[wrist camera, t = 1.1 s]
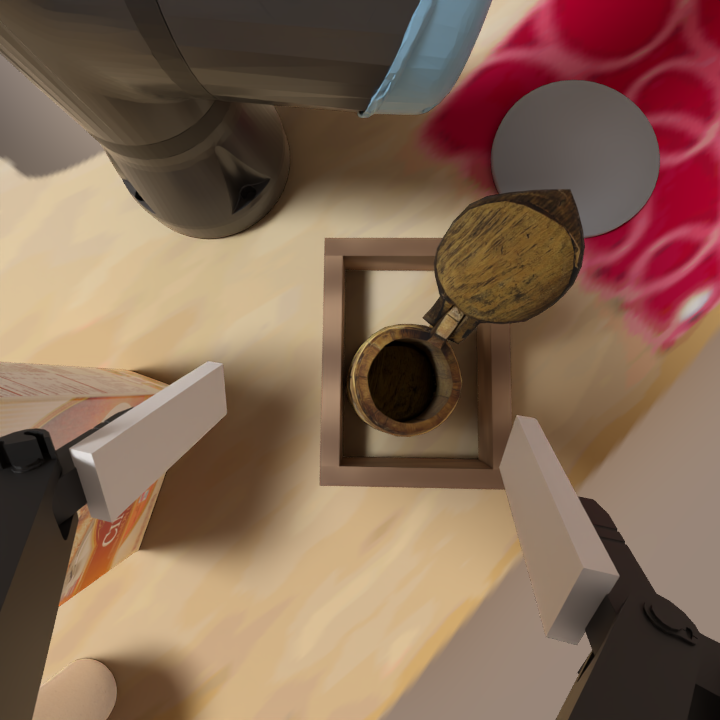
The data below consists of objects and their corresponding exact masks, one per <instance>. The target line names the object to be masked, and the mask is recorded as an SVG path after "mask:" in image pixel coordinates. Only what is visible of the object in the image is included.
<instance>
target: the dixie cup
mask: <svg viewBox="0 0 720 720" xmlns="http://www.w3.org/2000/svg"><path fill="white" fill-rule="evenodd" d="M116 697H117V687H116V682H115V679H114V677H113V675H112V673H111V671H110V670H109V669H108V668H107V667H106V666H105V665H104V664H102V663H101V662H99V661H96V660H93V659H79V660H75V661H73V662H71V663H69V664H68V665H67V666H65V667H64V668H63V669H61V670H60V671H59V672H57V673H56V674H55V675H53V676H52V677H51V678H50V679H48V680H47V681H46V682H44V683H43V684H42V685H40V688H39V692H38V697H37V701H36V705H35V709H34V714H33V718H32V720H106V719H107V718H108V716H109V715H110V713H111V712H112V710H113V708H114V705H115V702H116Z"/></svg>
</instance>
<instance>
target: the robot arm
mask: <svg viewBox="0 0 720 720" xmlns="http://www.w3.org/2000/svg"><path fill="white" fill-rule="evenodd" d="M491 2H492V0H0V55H2V56H3V57H4V58H5V59H6V60H7V61H8V62H9V63H10V64H12V65H13V66H14V67H15V68H16V69H17V70H18V71H19V72H21V73H22V74H23V75H24V76H25V77H26V78H27V79H28V80H30V81H31V82H32V83H33V84H34V85H35V86H36V87H37V88H38V89H40V90H41V91H42V92H43V93H44V94H45V95H46V96H47V97H49V98H50V99H51V100H52V101H53V102H54V103H55V104H56V105H58V106H59V107H60V108H61V109H62V110H63V111H64V112H66V113H67V114H68V115H69V116H70V117H71V118H72V119H73V120H74V121H76V122H77V123H78V124H79V125H80V126H81V127H83V128H84V129H85V130H86V131H87V132H88V133H89V134H90V135H91V136H93V137H94V138H95V139H96V140H97V141H98V142H99V143H100V144H101V146H102V147H103V149H104V151H105V152H106V154H107V156H108V157H109V159H110V161H111V162H112V164H113V166H114V167H115V169H116V171H117V172H118V174H119V175H120V177H121V178H122V180H123V182H124V184H125V185H126V187H127V189H128V190H129V192H130V193H131V195H132V196H133V198H134V199H135V200H136V201H137V202H138V203H139V204H140V206H141V207H142V208H143V209H145V210H146V211H147V212H148V213H149V214H151V215H152V216H153V217H154V218H156V219H157V220H158V221H160V222H161V223H162V224H164V225H165V226H167V227H168V228H170V229H172V230H174V231H176V232H178V233H181V234H183V235H187V236H191V237H196V238H220V237H225V236H229V235H233V234H236V233H238V232H241V231H243V230H245V229H247V228H249V227H250V226H252V225H254V224H255V223H257V222H258V221H259V220H260V219H262V218H263V217H264V216H265V215H266V214H267V213H268V212H269V211H270V210H271V209H272V207H273V206H274V205H275V203H276V202H277V200H278V199H279V197H280V195H281V194H282V191H283V189H284V187H285V184H286V181H287V178H288V173H289V167H290V152H289V145H288V141H287V137H286V134H285V131H284V128H283V126H282V123H281V120H280V117H279V115H278V113H277V111H276V109H275V107H274V105H277V106H289V107H301V108H313V109H325V110H336V111H348V112H357V115H358V117H361V118H368V117H370V116H372V115H373V114H398V115H418V114H422V113H426V112H428V111H430V110H431V109H432V108H434V107H435V106H436V105H438V104H439V103H440V102H441V101H442V100H443V99H444V98H445V96H446V95H447V94H448V93H449V92H450V91H451V89H452V88H453V86H454V85H455V83H456V81H457V80H458V78H459V76H460V74H461V72H462V70H463V68H464V66H465V64H466V62H467V60H468V58H469V56H470V54H471V51H472V49H473V47H474V45H475V42H476V40H477V38H478V35H479V33H480V31H481V28H482V25H483V23H484V20H485V18H486V15H487V13H488V10H489V7H490V5H491ZM226 414H227V405H226V393H225V381H224V369H223V364H222V363H217V362H211V361H207V362H206V363H204V364H203V365H201V366H199V367H198V368H196V369H195V370H193V371H191V372H190V373H188V374H187V375H185V376H183V377H182V378H180V379H179V380H177V381H175V382H174V383H172V384H171V385H169V386H168V387H166V388H164V389H163V390H161V391H160V392H158V393H156V394H155V395H153V396H152V397H150V398H148V399H147V400H145V401H144V402H142V403H140V404H139V405H137V406H136V407H131V408H129V409H126V410H123V411H121V412H118V413H116V414H114V415H113V416H111V417H109V418H108V419H106V420H105V421H104V422H101V423H100V424H98V425H96V426H95V427H94V428H93V429H90V430H88V431H87V432H85V433H83V434H82V435H80V436H78V437H77V438H75V439H73V440H72V441H70V442H69V443H67V444H65V445H64V446H62V447H60V448H59V449H57V450H55V448H54V445H53V442H52V439H51V436H50V433H49V432H48V431H47V430H45V429H38V428H35V429H25V430H21V431H16V432H13V433H10V434H8V435H5V436H2V437H1V438H0V720H32V718H33V714H34V709H35V705H36V701H37V697H38V692H39V688H40V684H41V679H42V675H43V671H44V667H45V662H46V658H47V654H48V650H49V645H50V641H51V637H52V632H53V628H54V624H55V620H56V615H57V611H58V607H59V603H60V598H61V594H62V590H63V585H64V581H65V577H66V573H67V568H68V564H69V560H70V555H71V551H72V547H73V543H74V538H75V534H76V530H77V526H78V521H79V519H78V514H77V511H78V510H79V509H81V508H82V507H83V506H84V505H86V504H87V506H88V509H89V512H90V515H91V517H92V518H96V519H100V520H103V521H107V522H111V523H112V522H113V521H114V520H115V519H116V518H117V517H118V516H119V515H120V514H122V513H123V512H124V511H125V510H126V509H127V508H128V507H129V506H130V505H131V504H132V503H133V502H134V501H135V500H136V499H137V498H138V497H139V496H141V495H142V494H143V493H144V492H145V491H146V490H147V489H148V488H149V487H150V486H151V485H152V484H153V483H154V482H155V481H156V480H157V479H159V478H160V477H161V476H162V475H163V474H164V473H165V472H166V471H167V470H168V469H169V468H170V467H171V466H172V465H173V464H174V463H175V462H177V461H178V460H179V459H180V458H181V457H182V456H183V455H184V454H185V453H186V452H187V451H188V450H189V449H190V448H191V447H192V446H193V445H195V444H196V443H197V442H198V441H199V440H200V439H201V438H202V437H203V436H204V435H205V434H206V433H207V432H208V431H209V430H210V429H211V428H213V427H214V426H215V425H216V424H217V423H218V422H219V421H220V420H221V419H222V418H223V417H224V416H225V415H226ZM499 468H500V472H501V476H502V479H503V483H504V487H505V490H506V494H507V497H508V501H509V505H510V508H511V512H512V516H513V519H514V523H515V527H516V530H517V534H518V538H519V541H520V545H521V548H522V552H523V556H524V559H525V563H526V567H527V570H528V574H529V578H530V581H531V585H532V588H533V592H534V595H535V599H536V603H537V607H538V610H539V614H540V618H541V621H542V625H543V628H544V632H545V635H546V637H548V638H552V639H556V640H559V641H563V642H567V643H571V644H574V645H577V644H578V643H579V641H580V640H581V638H582V636H583V635H584V633H585V631H586V634H587V637H588V639H589V642H590V645H591V647H592V652H591V653H590V654H589V656H588V657H587V659H586V660H585V662H584V663H583V665H582V666H581V668H580V670H579V671H578V674H579V675H578V677H577V679H576V681H575V683H574V685H573V687H572V689H571V691H570V693H569V695H568V697H567V699H566V701H565V703H564V705H563V706H562V708H561V710H560V712H559V715H558V716H557V718H556V720H720V643H718V642H716V641H714V640H712V639H710V638H708V637H706V636H704V635H702V634H701V633H699V631H698V629H697V628H696V626H695V624H693V622H692V621H691V620H690V619H689V618H688V617H687V616H686V614H685V613H684V612H683V611H682V610H680V609H679V608H678V607H676V606H675V605H674V604H673V603H671V602H670V601H669V600H667V599H665V598H663V597H661V596H660V595H658V594H656V592H655V591H654V589H653V587H652V586H651V584H650V582H649V581H648V579H647V577H646V576H645V574H644V572H643V571H642V569H641V568H640V566H639V564H638V562H637V561H636V559H635V557H634V556H633V554H632V552H631V551H630V549H629V547H628V546H627V545H625V541H624V539H623V537H622V536H621V534H620V533H619V532H617V528H616V526H615V524H614V523H613V521H612V519H611V518H610V516H609V514H608V513H607V512H606V511H605V510H604V509H603V508H602V507H601V506H600V505H599V504H597V502H596V501H594V500H593V499H588V498H583V497H578V496H577V494H576V493H575V491H574V489H573V487H572V485H571V483H570V481H569V479H568V477H567V476H566V474H565V472H564V470H563V468H562V466H561V464H560V462H559V460H558V459H557V457H556V455H555V453H554V451H553V449H552V447H551V445H550V443H549V442H548V440H547V438H546V436H545V434H544V432H543V430H542V428H541V426H540V425H539V423H538V421H537V419H536V418H531V417H526V416H520V415H516V418H515V421H514V424H513V427H512V430H511V433H510V436H509V439H508V442H507V445H506V448H505V451H504V455H503V458H502V461H501V464H500V467H499Z"/></svg>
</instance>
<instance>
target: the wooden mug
mask: <svg viewBox="0 0 720 720" xmlns="http://www.w3.org/2000/svg"><path fill="white" fill-rule="evenodd" d="M584 248H585V245H584V234H583V228H582V224H581V220H580V216H579V212H578V208H577V205H576V203H575V200H574V197H573V195H572V192H571V189H542V190H527V191H517V192H508V193H502V194H497V195H492V196H487V197H485V198H482V199H480V200H478V201H476V202H474V203H472V204H470V205H469V206H468V207H467V208H466V209H465V210H464V211H463V212H462V213H461V214H460V215H459V216H458V217H457V218H456V219H455V220H454V221H453V223H452V224H451V226H450V228H449V229H448V231H447V232H446V234H445V235H444V237H443V239H442V240H441V242H440V244H439V245H438V247H437V249H436V254H435V259H434V271H435V278H436V282H437V286H438V290H439V294H440V297H439V299H438V300H437V301H436V303H435V304H434V306H433V307H432V308H431V309H430V310H429V311H428V312H427V313H426V314H425V316H424V317H423V319H424V320H426V321H427V322H428V323H429V324H430V326H429V327H427V326H423V325H416V324H398V325H393V326H388V327H385V328H383V329H381V330H380V331H378V332H376V333H375V334H373V335H372V336H371V337H370V338H369V339H368V340H367V341H365V342H364V343H363V344H362V345H361V347H360V348H359V350H358V351H357V353H356V354H355V356H354V358H353V359H352V362H351V365H350V368H349V371H348V377H347V381H346V384H345V386H346V392H347V398H348V401H349V402H350V404H351V406H352V408H353V409H354V411H355V412H356V413H357V415H358V416H359V417H360V418H361V419H362V421H364V422H365V423H367V424H368V425H370V426H371V427H372V428H374V429H377V430H380V431H382V432H385V433H389V434H392V435H395V436H404V437H411V436H415V435H420V434H424V433H427V432H429V431H431V430H433V429H434V428H436V427H438V426H439V425H440V424H441V423H443V422H444V421H445V420H446V419H447V418H448V416H449V415H450V414H451V412H452V411H453V410H454V408H455V406H456V404H457V402H458V400H459V398H460V392H461V387H462V379H461V374H460V370H459V365H458V362H457V359H456V357H455V354H454V352H453V350H452V347H451V346H450V344H449V343H448V341H447V340H450V341H452V342H455V343H457V344H459V343H461V342H462V341H463V340H464V339H465V338H466V337H467V336H468V335H469V334H470V333H471V332H472V331H473V330H474V329H475V328H476V327H477V326H478V325H479V324H480V323H493V324H508V323H516V322H524V321H527V320H529V319H531V318H533V317H535V316H537V315H538V314H540V313H542V312H543V311H545V310H546V309H548V308H549V307H551V306H552V305H554V304H555V303H556V302H557V301H558V300H559V299H560V298H561V297H563V296H564V294H565V293H566V292H567V291H568V290H569V289H570V287H571V286H572V285H573V284H574V282H575V280H576V278H577V275H578V273H579V271H580V269H581V267H582V261H583V255H584Z"/></svg>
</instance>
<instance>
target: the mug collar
mask: <svg viewBox="0 0 720 720" xmlns="http://www.w3.org/2000/svg"><path fill="white" fill-rule="evenodd" d="M442 239H443V238H325V254H324V302H323V350H322V397H321V445H320V486H366V487H414V488H461V489H505V487H504V483H503V479H502V476H501V472H500V468H499V467H500V464H501V461H502V458H503V455H504V451H505V448H506V445H507V442H508V439H509V436H510V433H511V430H512V401H511V352H510V323H508V324H493V323H480V324H479V325H478V326H477V381H478V457H479V459H439V458H385V457H343V401H344V339H345V276H346V270H434V259H435V254H436V249H437V247H438V245H439V244H440V242H441V240H442Z"/></svg>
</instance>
